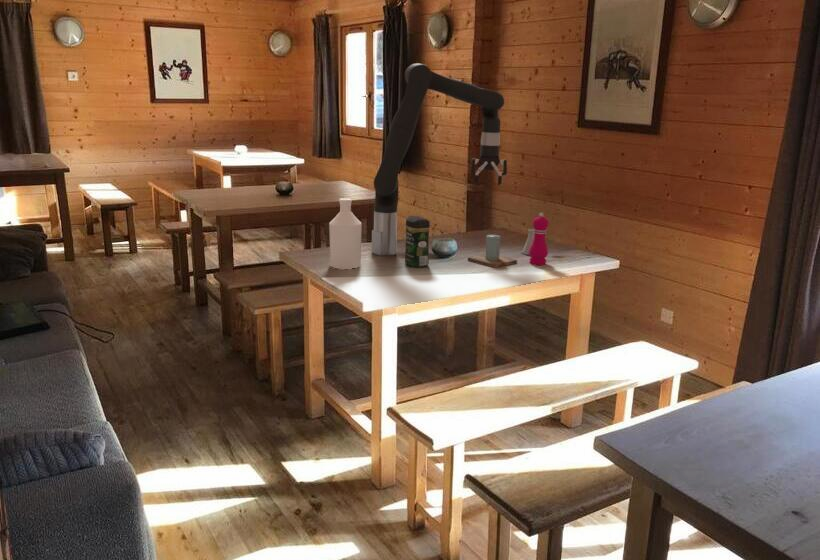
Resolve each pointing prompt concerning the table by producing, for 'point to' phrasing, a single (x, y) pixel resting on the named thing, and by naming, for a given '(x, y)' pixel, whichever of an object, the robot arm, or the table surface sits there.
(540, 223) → the pepper mill
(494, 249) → the grey canister
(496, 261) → the post stand
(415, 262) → the coffee jar
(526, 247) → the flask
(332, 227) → the bottle
